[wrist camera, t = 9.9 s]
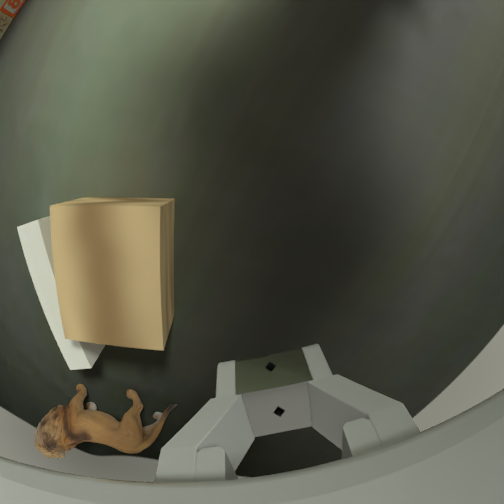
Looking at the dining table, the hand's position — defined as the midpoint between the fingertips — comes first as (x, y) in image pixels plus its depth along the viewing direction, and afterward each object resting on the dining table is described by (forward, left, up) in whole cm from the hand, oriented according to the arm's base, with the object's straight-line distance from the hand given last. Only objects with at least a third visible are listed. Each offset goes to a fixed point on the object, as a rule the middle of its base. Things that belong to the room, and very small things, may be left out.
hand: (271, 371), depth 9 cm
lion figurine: (+18, +14, -17) cm, 28 cm away
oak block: (+10, -1, -17) cm, 20 cm away
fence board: (+16, 0, -17) cm, 23 cm away
